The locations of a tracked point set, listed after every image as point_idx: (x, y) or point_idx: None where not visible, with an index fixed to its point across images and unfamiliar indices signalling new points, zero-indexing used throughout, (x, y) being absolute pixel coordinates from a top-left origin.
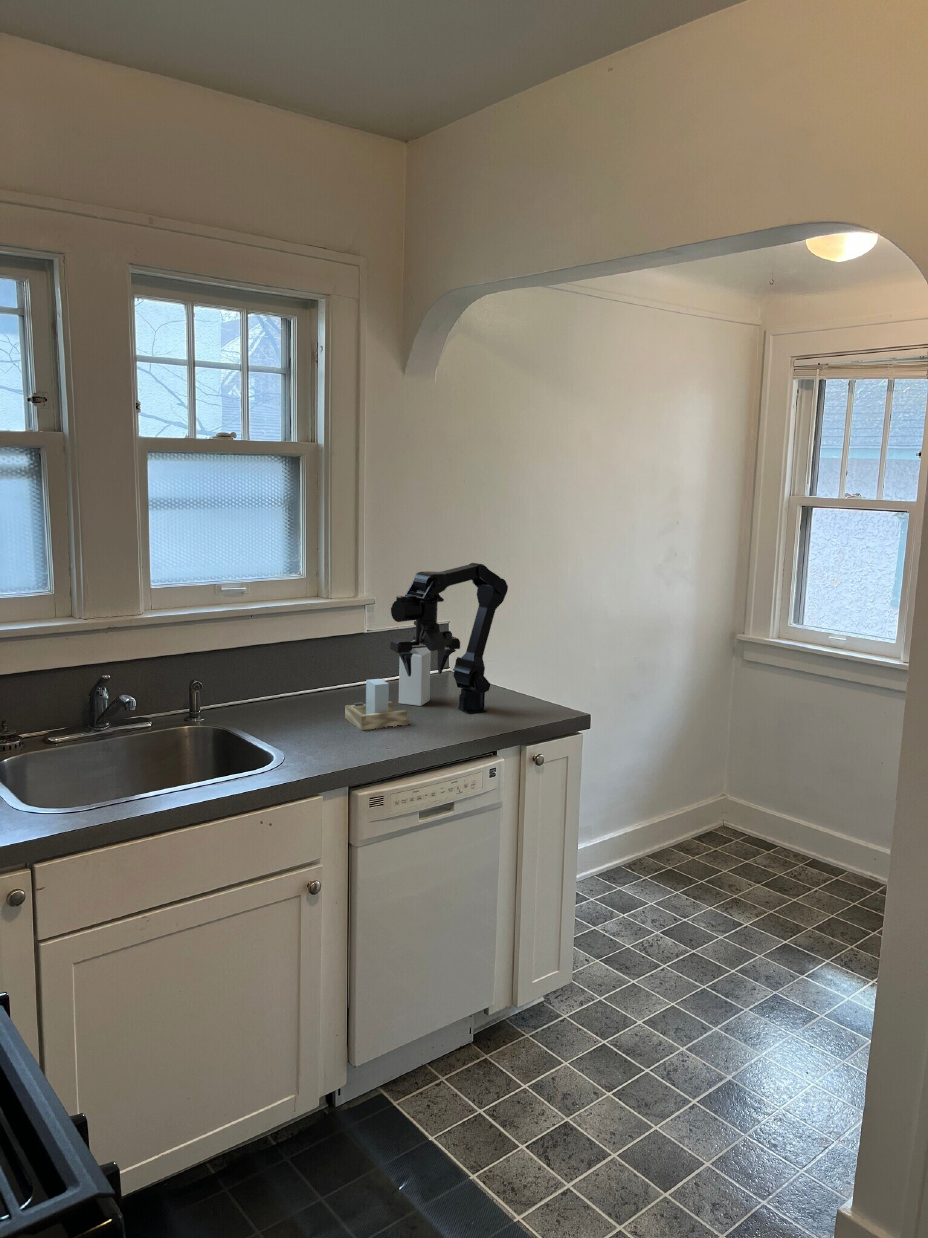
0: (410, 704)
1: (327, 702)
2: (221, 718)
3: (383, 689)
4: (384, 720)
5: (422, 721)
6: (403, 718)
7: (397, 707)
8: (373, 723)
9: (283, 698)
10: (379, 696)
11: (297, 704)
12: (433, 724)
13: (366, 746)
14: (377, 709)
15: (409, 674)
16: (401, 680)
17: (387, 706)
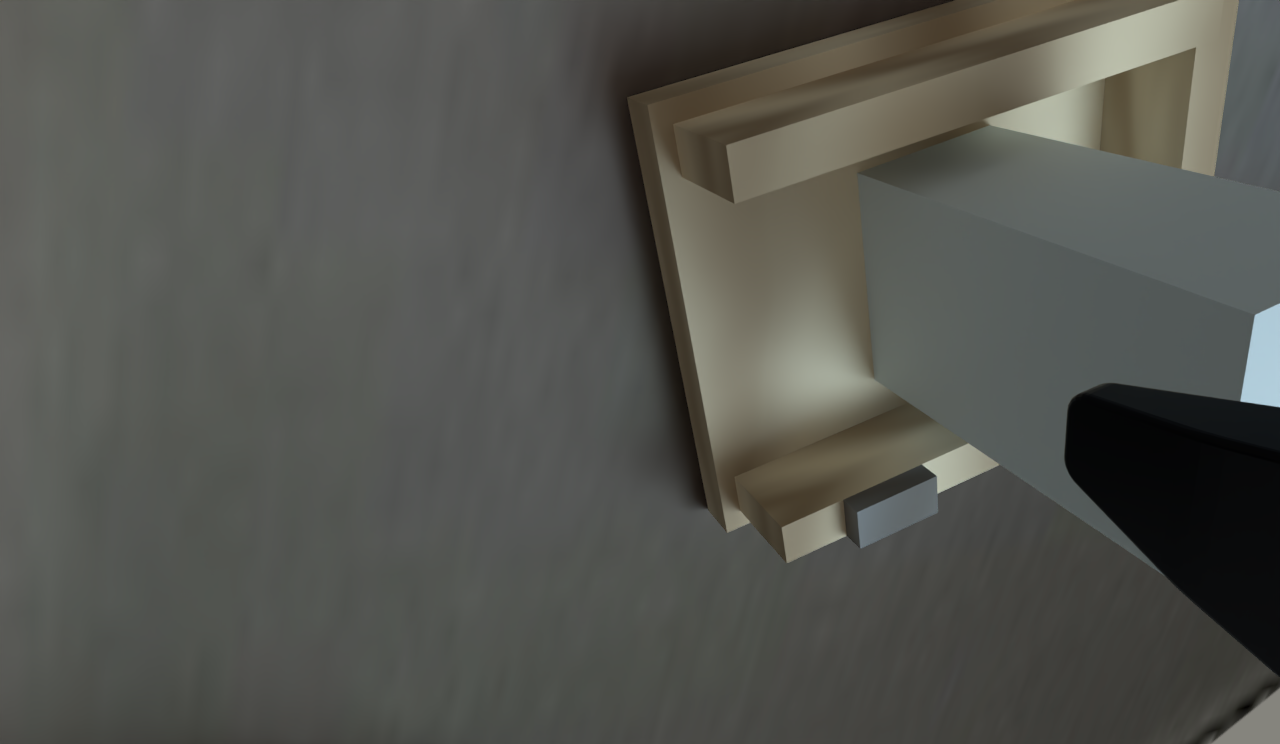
0: None
1: (1033, 712)
2: None
3: (1236, 251)
4: (943, 48)
5: (446, 226)
6: (728, 113)
7: (615, 689)
8: (1036, 13)
9: (1191, 736)
10: (1187, 205)
11: (1184, 643)
12: (313, 71)
13: None
14: (1059, 160)
15: (1154, 395)
16: None
17: (969, 206)
